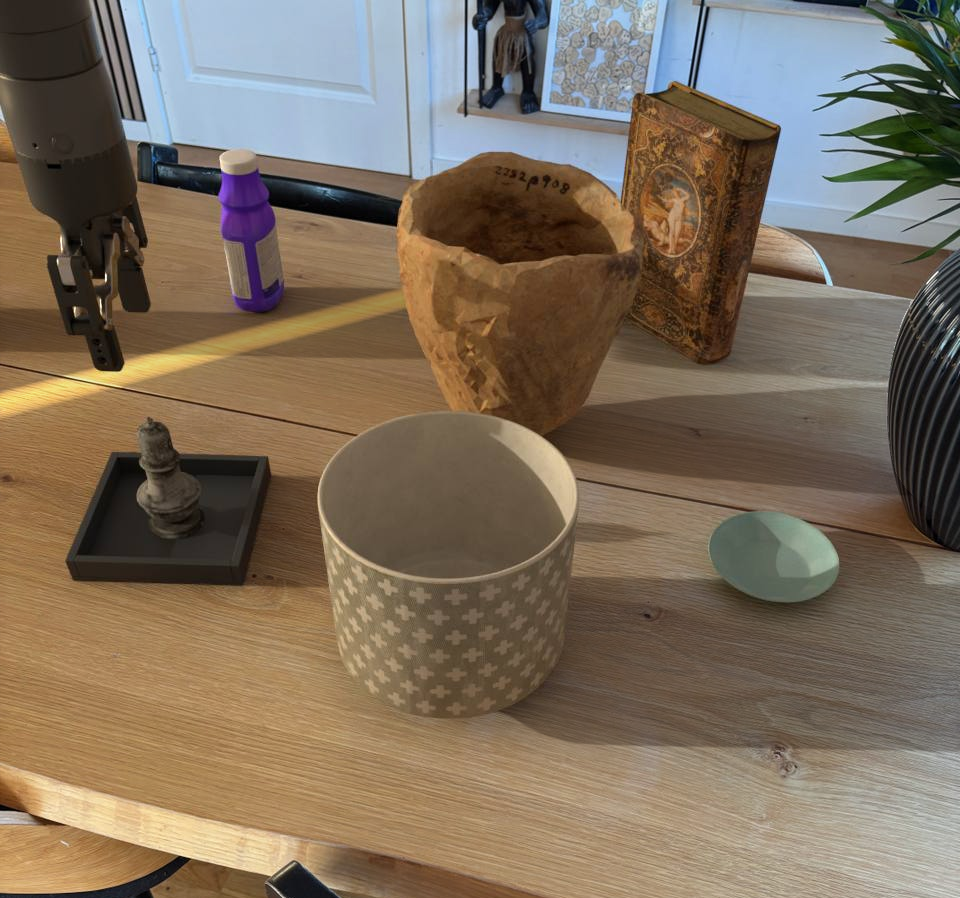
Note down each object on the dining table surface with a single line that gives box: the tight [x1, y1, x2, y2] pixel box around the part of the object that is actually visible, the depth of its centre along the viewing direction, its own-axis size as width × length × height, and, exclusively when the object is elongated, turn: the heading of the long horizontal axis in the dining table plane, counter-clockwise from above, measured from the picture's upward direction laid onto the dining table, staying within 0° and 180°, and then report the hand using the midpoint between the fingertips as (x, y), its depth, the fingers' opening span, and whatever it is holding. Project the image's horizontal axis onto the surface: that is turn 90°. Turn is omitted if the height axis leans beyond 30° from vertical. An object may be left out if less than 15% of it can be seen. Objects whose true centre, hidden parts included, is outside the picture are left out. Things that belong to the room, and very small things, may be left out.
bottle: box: [218, 148, 285, 313], centre depth 118 cm, size 7×6×17 cm
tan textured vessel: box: [396, 151, 645, 437], centre depth 98 cm, size 22×22×25 cm
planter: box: [316, 410, 580, 720], centre depth 80 cm, size 19×19×18 cm
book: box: [620, 80, 782, 365], centre depth 112 cm, size 16×6×25 cm, turn 38°
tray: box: [64, 451, 272, 586], centre depth 96 cm, size 16×16×2 cm
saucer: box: [707, 510, 840, 603], centre depth 93 cm, size 12×12×2 cm
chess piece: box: [135, 416, 205, 539], centre depth 93 cm, size 6×6×12 cm
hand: (124, 338), depth 82 cm, fingers open, 8 cm apart
